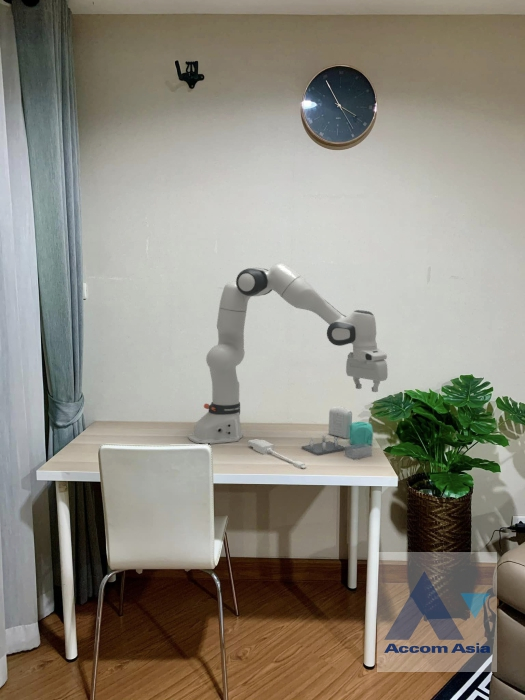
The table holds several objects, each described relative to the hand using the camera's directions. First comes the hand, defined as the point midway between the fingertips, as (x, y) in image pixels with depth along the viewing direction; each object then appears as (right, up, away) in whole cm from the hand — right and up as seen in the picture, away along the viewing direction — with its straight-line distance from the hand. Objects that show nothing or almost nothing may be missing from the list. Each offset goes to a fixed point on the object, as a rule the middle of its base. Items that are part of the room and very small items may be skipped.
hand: (366, 390), depth 228 cm
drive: (-3, -25, 0) cm, 25 cm away
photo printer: (-7, -21, +27) cm, 35 cm away
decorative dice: (0, -23, +16) cm, 28 cm away
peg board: (-15, -23, +7) cm, 29 cm away
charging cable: (-34, -25, -3) cm, 42 cm away
